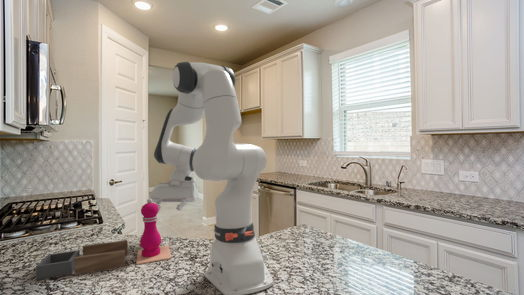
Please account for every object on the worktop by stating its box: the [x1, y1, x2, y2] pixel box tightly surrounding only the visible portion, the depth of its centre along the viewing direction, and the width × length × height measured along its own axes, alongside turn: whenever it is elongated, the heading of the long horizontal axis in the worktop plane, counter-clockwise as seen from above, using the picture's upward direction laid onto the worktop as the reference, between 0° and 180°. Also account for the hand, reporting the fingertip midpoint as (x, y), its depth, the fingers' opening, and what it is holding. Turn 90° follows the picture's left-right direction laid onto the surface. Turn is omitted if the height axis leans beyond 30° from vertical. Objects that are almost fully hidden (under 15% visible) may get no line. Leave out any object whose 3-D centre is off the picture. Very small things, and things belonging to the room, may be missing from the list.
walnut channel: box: [74, 239, 129, 275], centre depth 95 cm, size 13×14×5 cm
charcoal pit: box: [35, 249, 81, 281], centre depth 90 cm, size 11×9×4 cm
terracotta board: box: [135, 245, 172, 266], centre depth 101 cm, size 14×11×1 cm
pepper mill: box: [139, 198, 162, 257], centre depth 100 cm, size 7×7×20 cm
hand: (167, 209), depth 112 cm, fingers open, 8 cm apart
